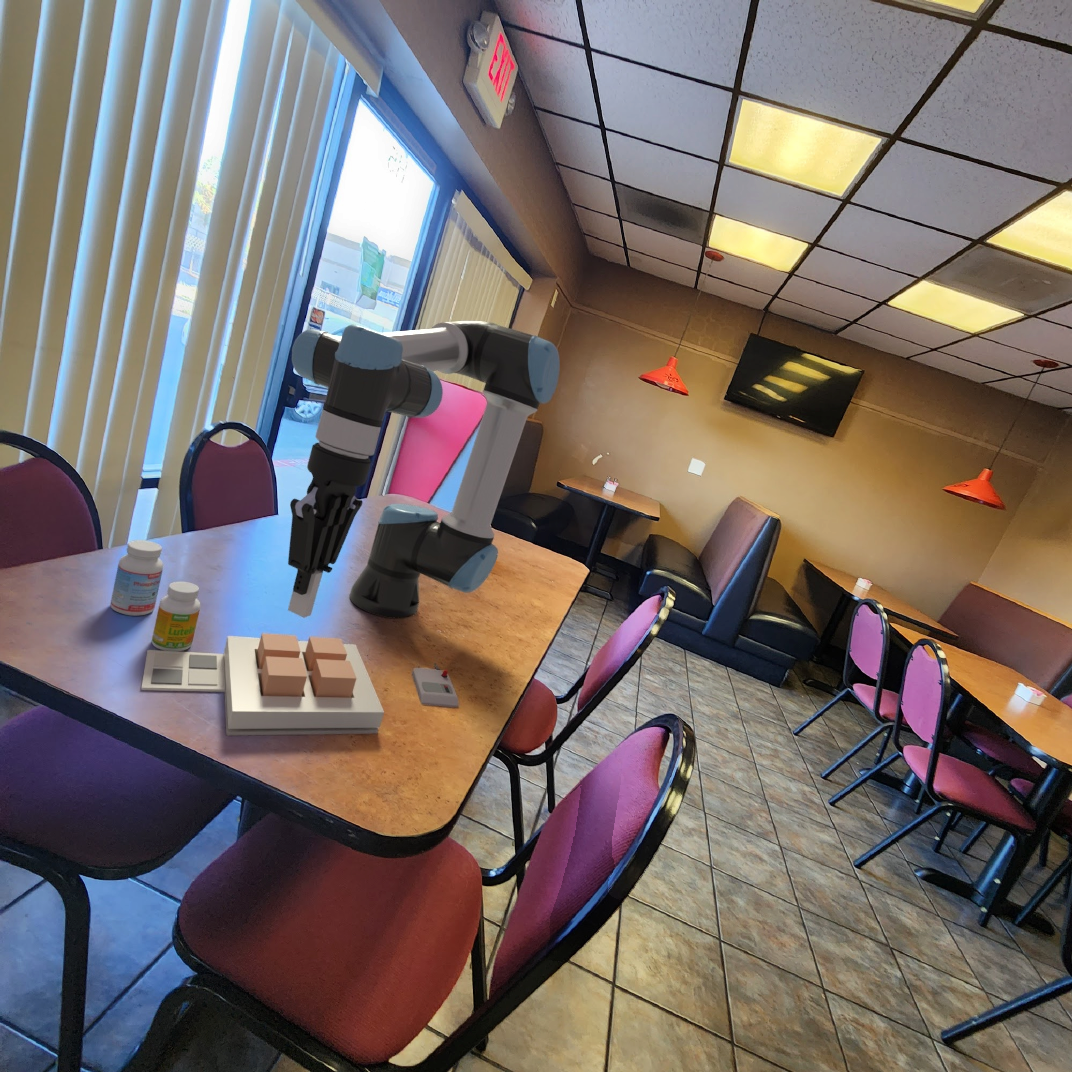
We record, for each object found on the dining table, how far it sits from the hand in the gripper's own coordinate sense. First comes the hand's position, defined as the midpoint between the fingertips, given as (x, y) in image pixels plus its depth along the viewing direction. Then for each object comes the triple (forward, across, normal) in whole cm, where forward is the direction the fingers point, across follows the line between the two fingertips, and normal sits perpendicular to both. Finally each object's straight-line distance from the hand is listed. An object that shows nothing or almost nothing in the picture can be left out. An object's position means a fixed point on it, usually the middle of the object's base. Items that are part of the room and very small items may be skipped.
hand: (299, 612), depth 80 cm
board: (+15, -5, 0) cm, 16 cm away
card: (+15, +2, -14) cm, 21 cm away
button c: (+12, -5, +5) cm, 14 cm away
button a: (+12, 0, 0) cm, 12 cm away
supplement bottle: (+15, -2, -21) cm, 26 cm away
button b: (+12, -5, -5) cm, 14 cm away
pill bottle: (+15, -6, -33) cm, 37 cm away
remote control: (+16, -24, +14) cm, 32 cm away
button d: (+12, -10, 0) cm, 16 cm away
